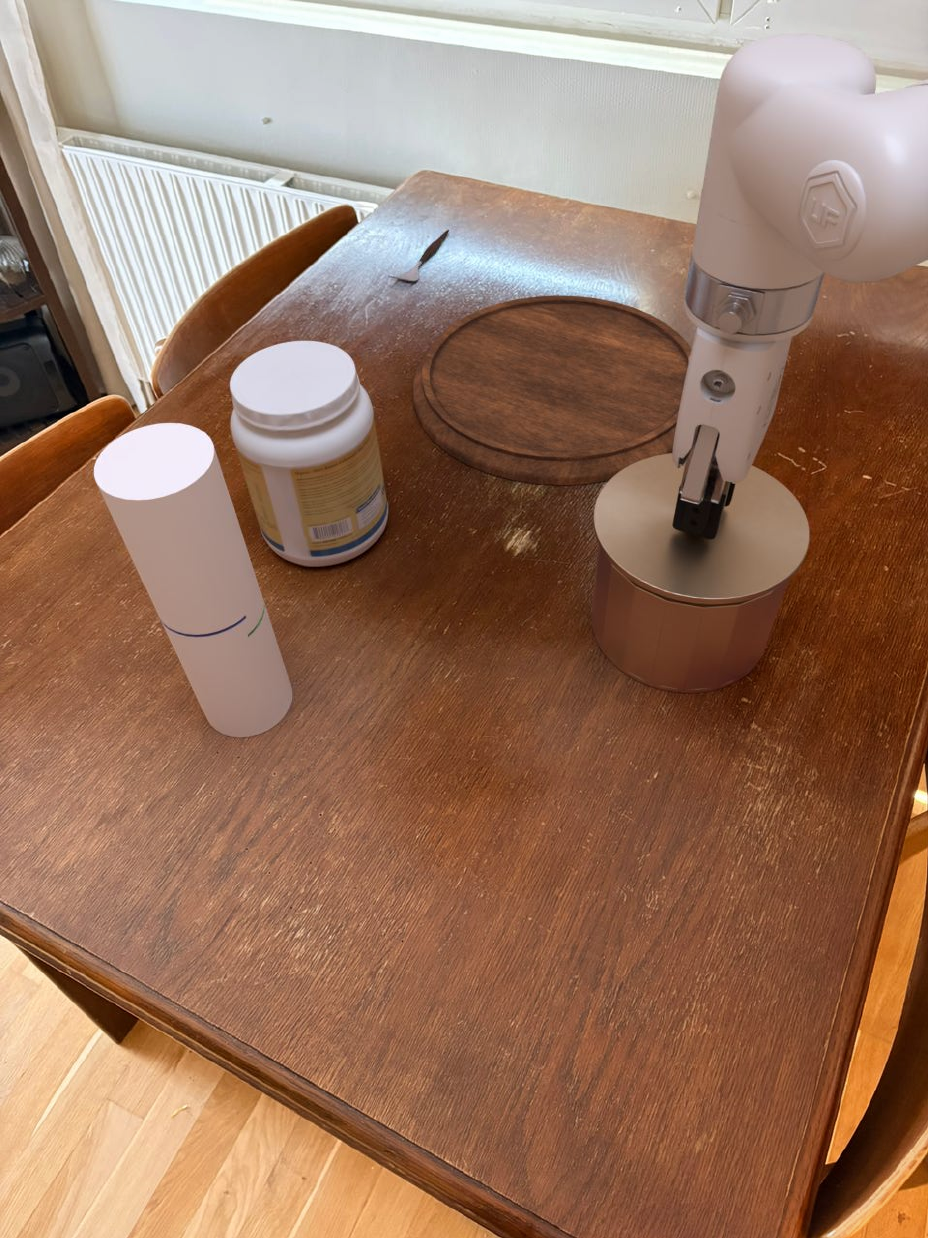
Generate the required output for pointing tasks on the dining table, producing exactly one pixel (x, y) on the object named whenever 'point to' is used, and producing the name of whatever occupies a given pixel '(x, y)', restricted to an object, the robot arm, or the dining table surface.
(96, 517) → the dining table surface
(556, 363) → the cutting board
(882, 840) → the dining table surface
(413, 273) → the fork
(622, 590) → the pot
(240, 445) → the supplement tub
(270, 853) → the dining table surface
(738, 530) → the lid
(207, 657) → the cylindrical container
